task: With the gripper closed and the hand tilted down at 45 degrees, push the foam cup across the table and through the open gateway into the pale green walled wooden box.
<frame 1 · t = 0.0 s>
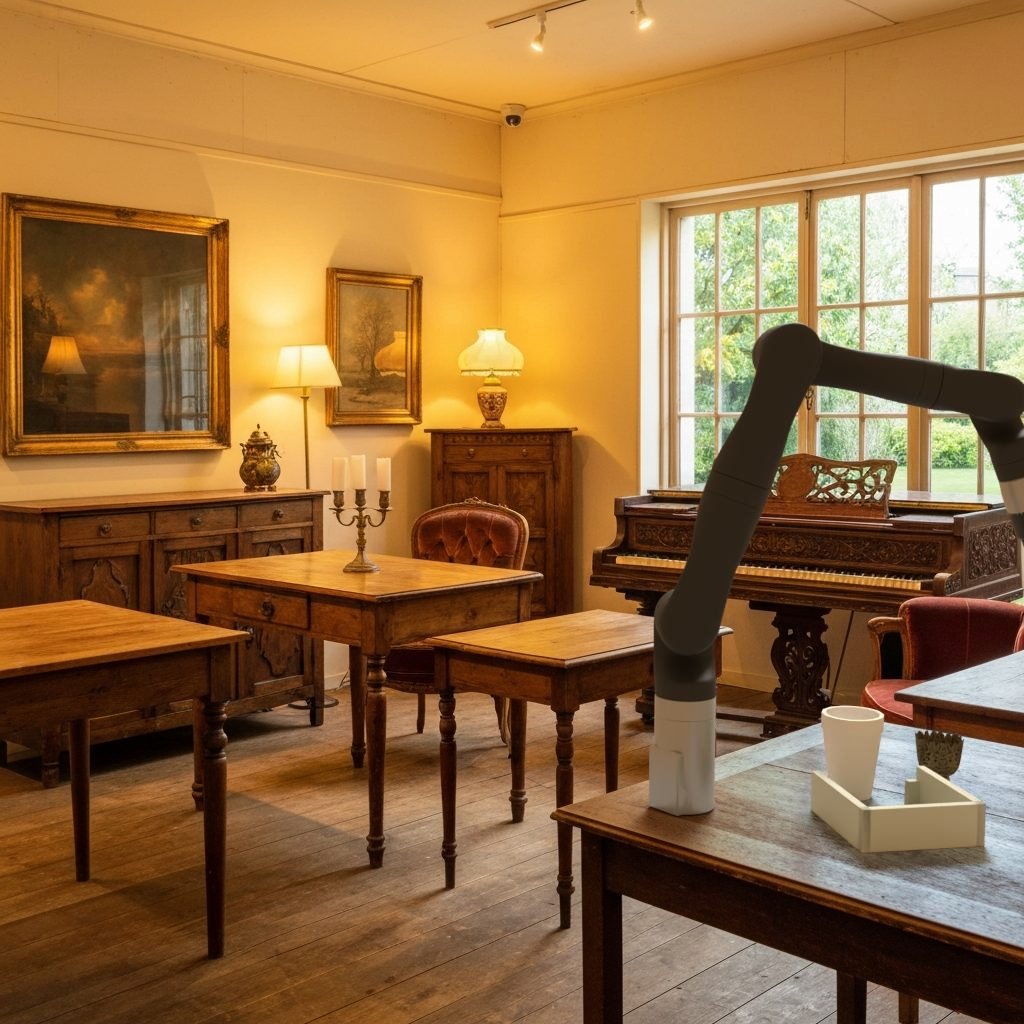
cup: (937, 785, 198), on the table
walled box: (893, 827, 178), on the table
foam cup: (850, 795, 193), on the table
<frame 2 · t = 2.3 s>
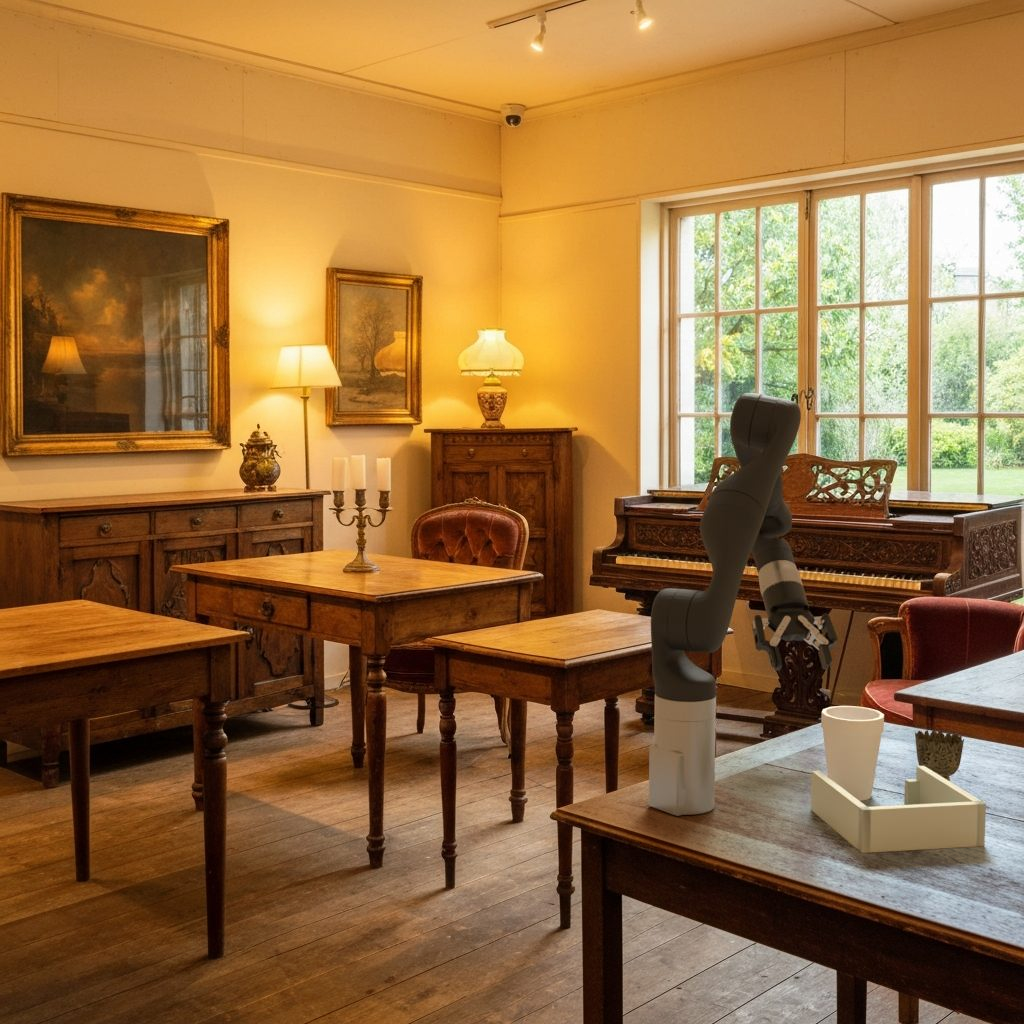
hand: (803, 667, 213), 15 cm above the table, tool tilted 45°, fingers open, 8 cm apart
nothing on the table moved.
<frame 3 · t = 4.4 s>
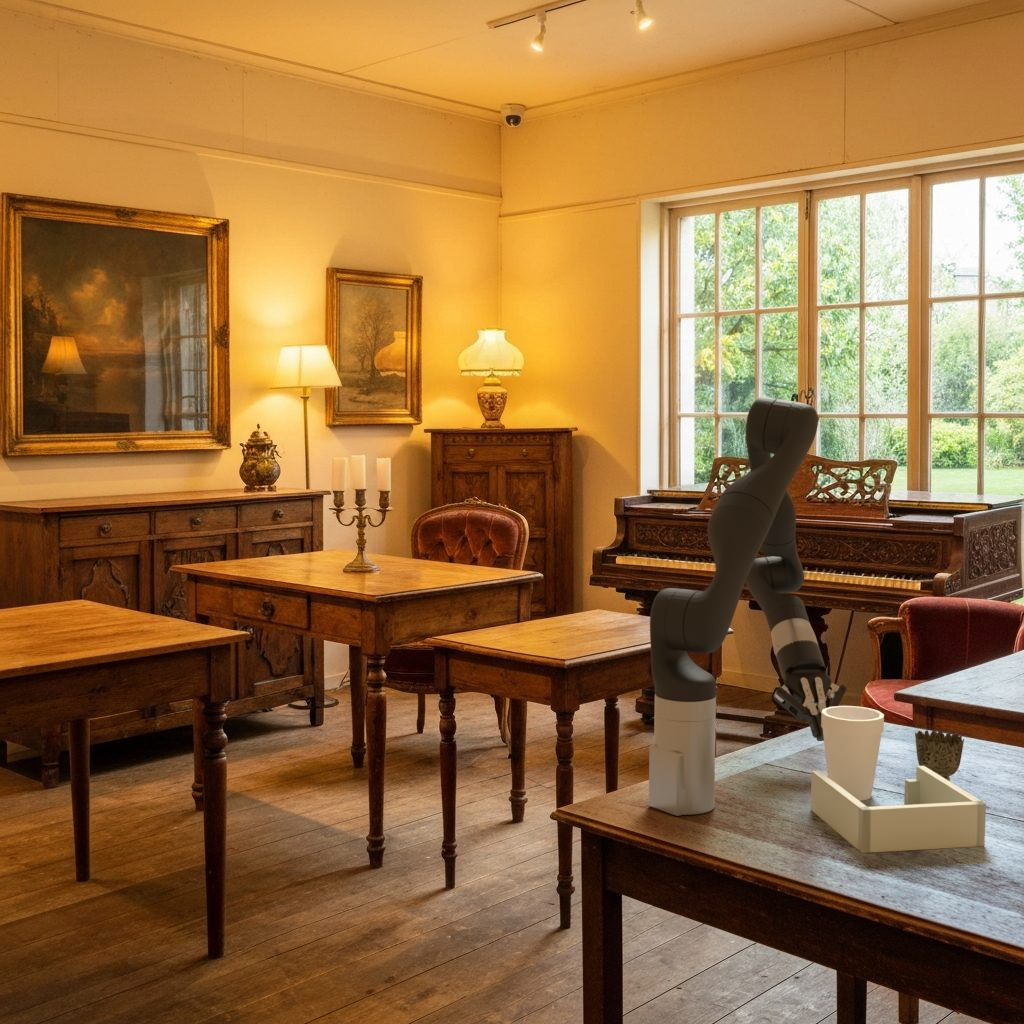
hand: (823, 738, 203), 6 cm above the table, tool tilted 45°, fingers closed
nothing on the table moved.
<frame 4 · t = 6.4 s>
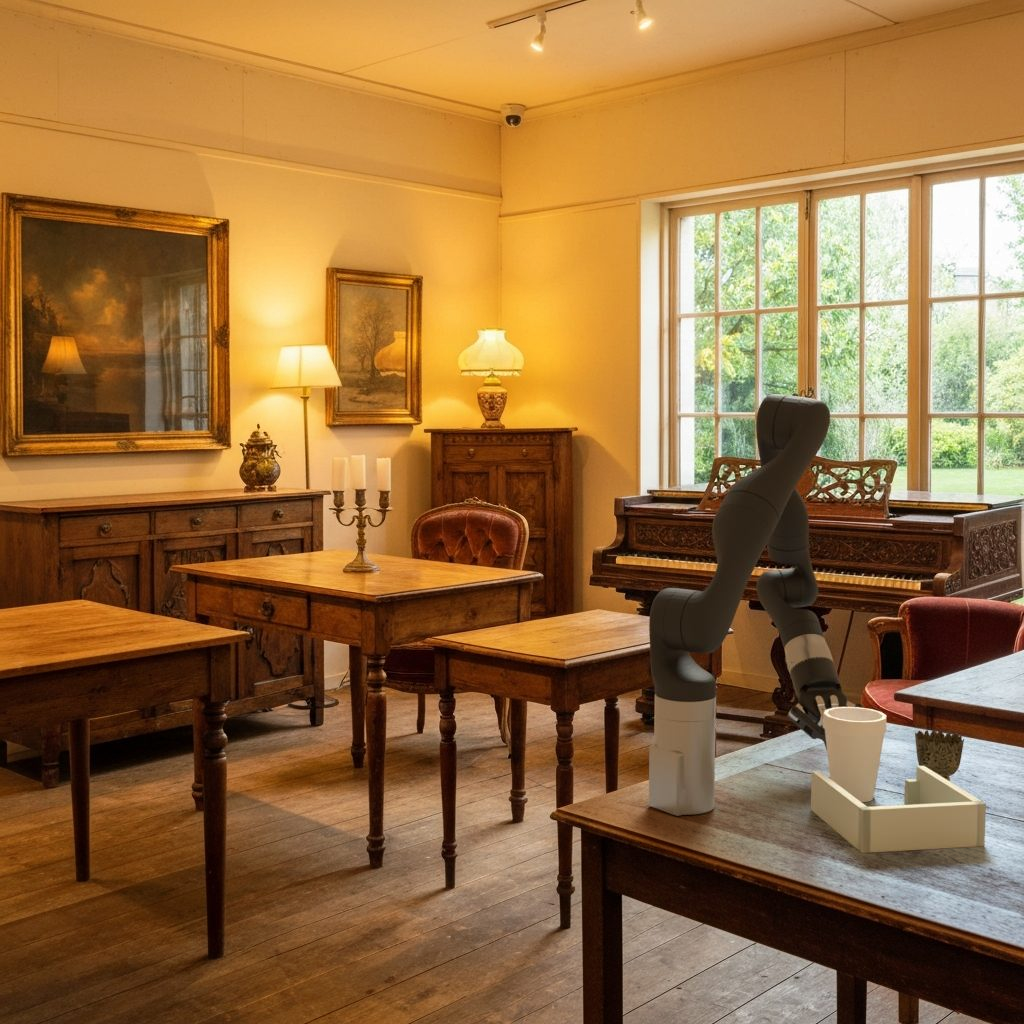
hand: (839, 759, 197), 4 cm above the table, tool tilted 45°, fingers closed
foam cup: (852, 797, 192), on the table, touching gripper
everything else where it was.
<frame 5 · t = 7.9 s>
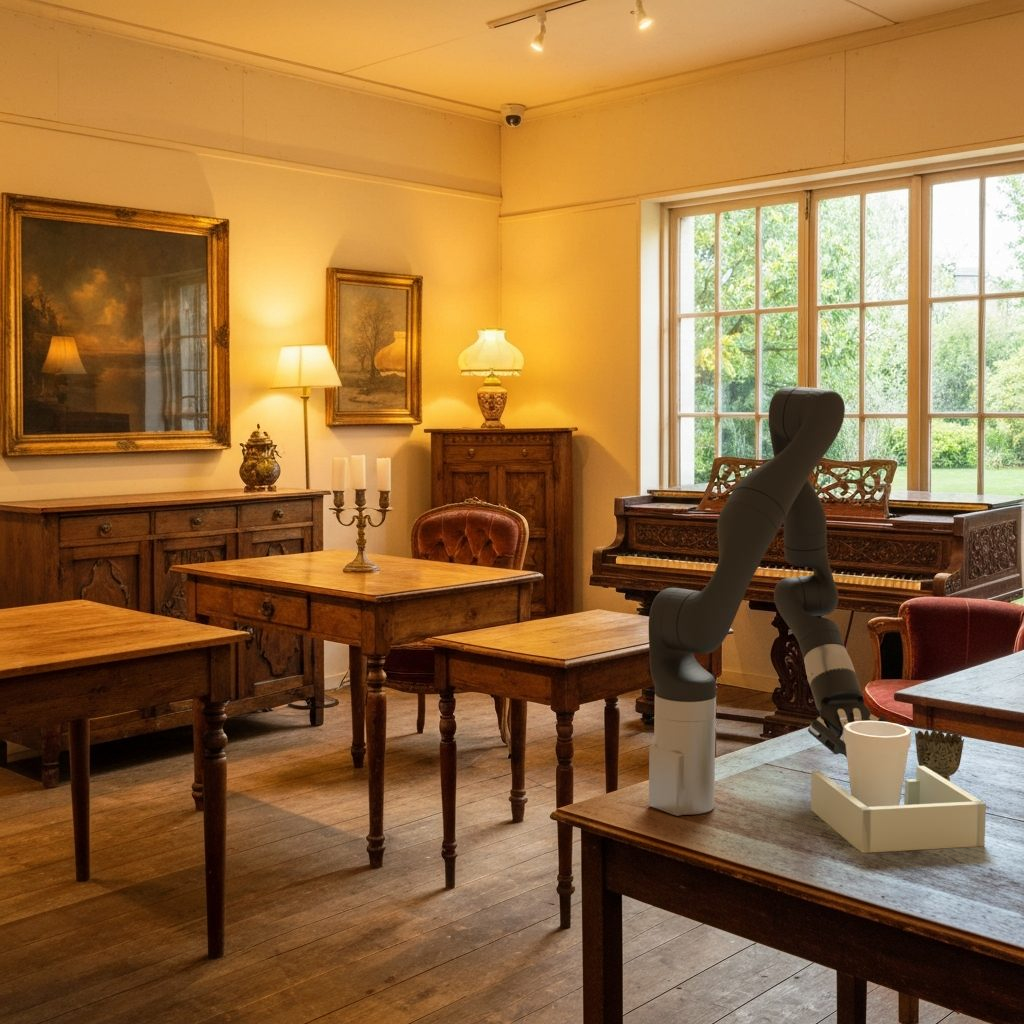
hand: (863, 775, 188), 4 cm above the table, tool tilted 45°, fingers closed
foam cup: (874, 815, 184), on the table, touching gripper
everything else where it was.
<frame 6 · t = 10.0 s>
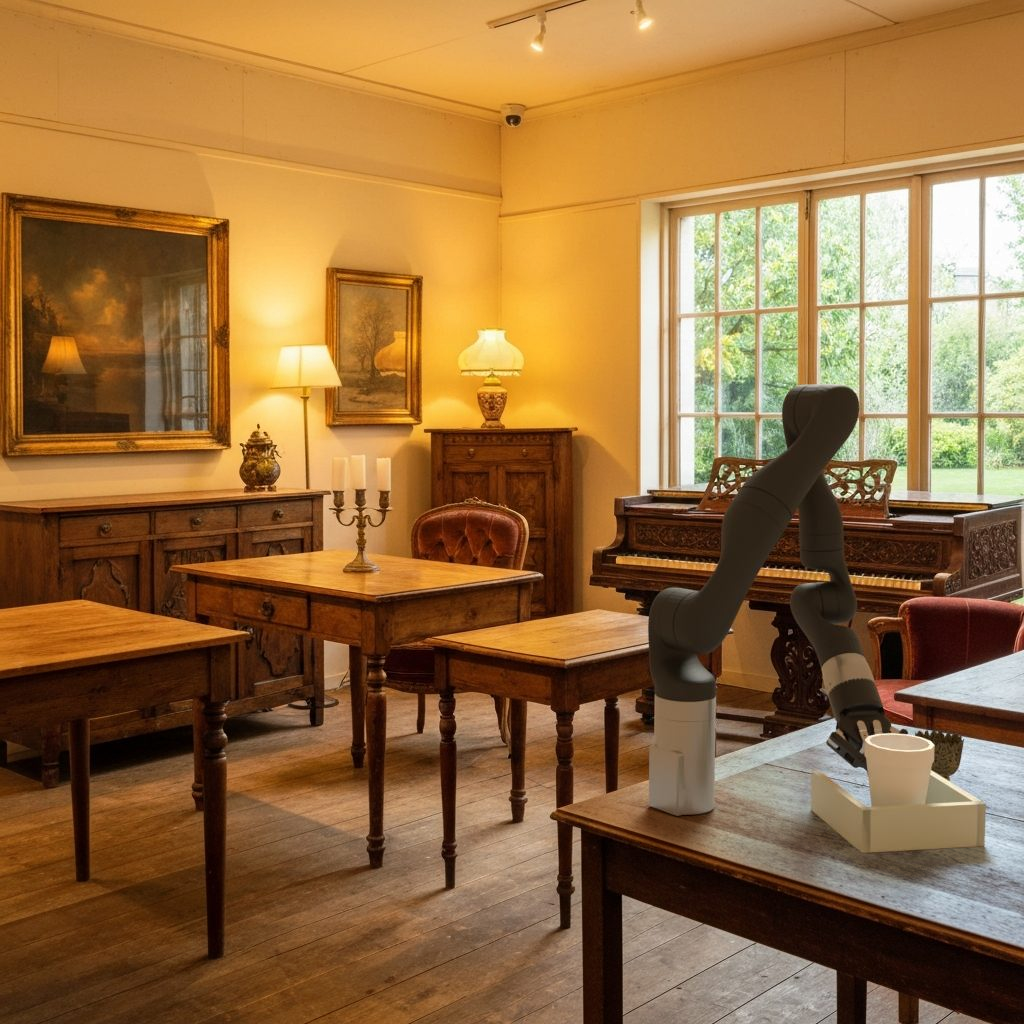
hand: (884, 790, 181), 4 cm above the table, tool tilted 45°, fingers closed
foam cup: (896, 832, 176), on the table, touching gripper
everything else where it was.
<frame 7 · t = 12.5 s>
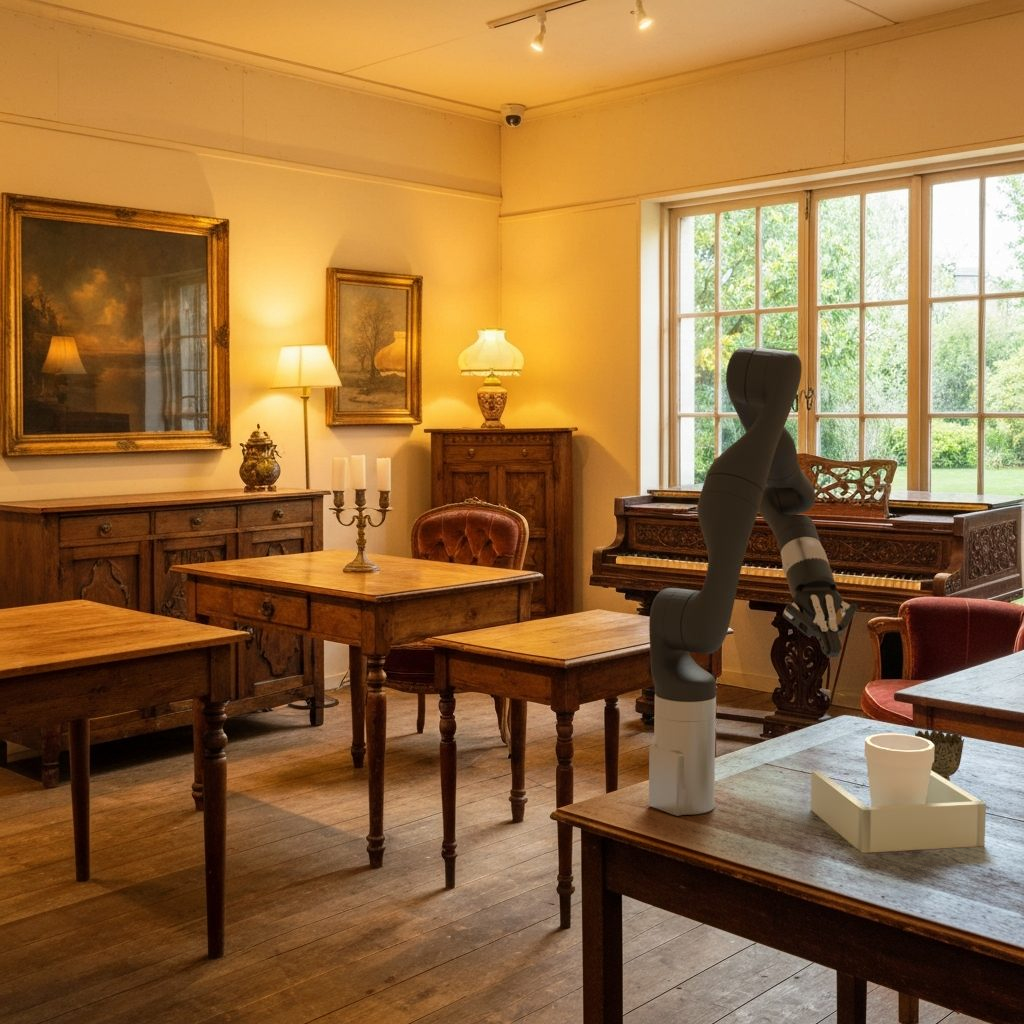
hand: (833, 654, 199), 21 cm above the table, tool tilted 45°, fingers closed
foam cup: (896, 832, 176), on the table
everything else where it was.
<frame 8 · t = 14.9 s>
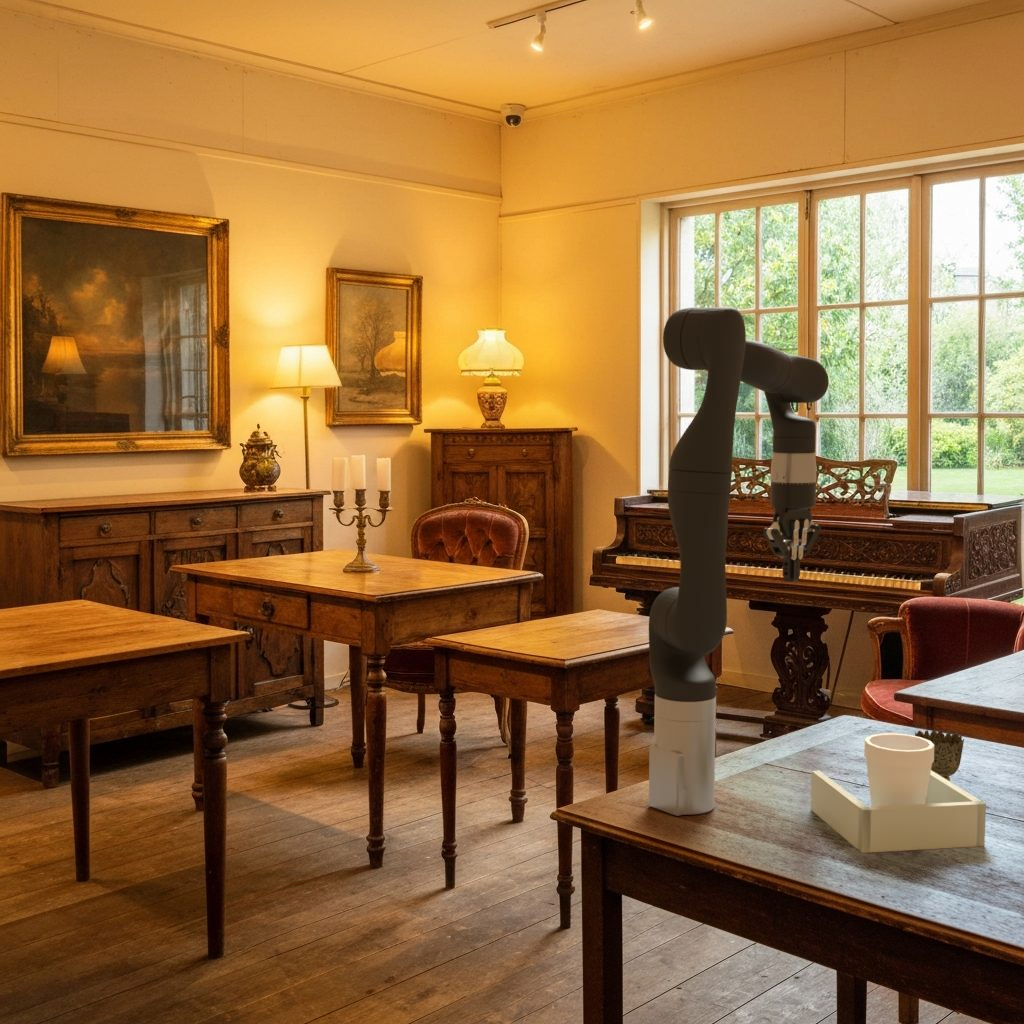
hand: (791, 581, 209), 31 cm above the table, tool pointing down, fingers closed
nothing on the table moved.
at the end: foam cup 1.5 cm from the walled box (horizontally); foam cup tilted 0°; foam cup on the table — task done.
